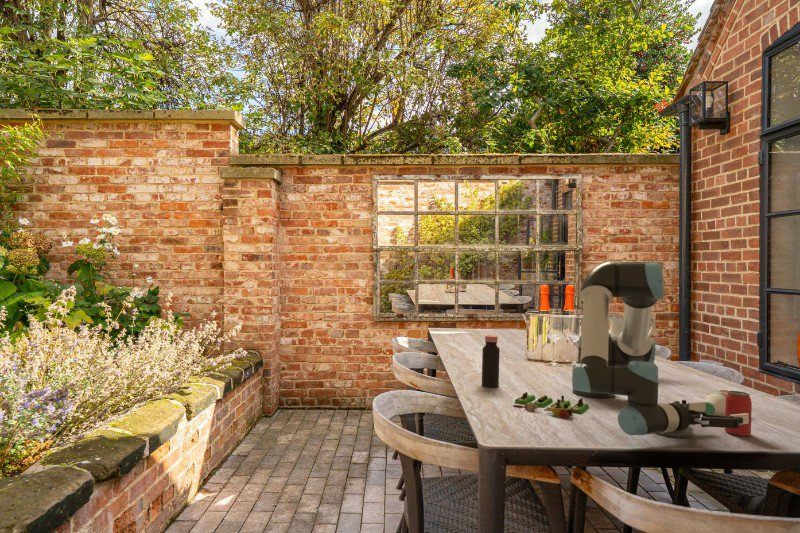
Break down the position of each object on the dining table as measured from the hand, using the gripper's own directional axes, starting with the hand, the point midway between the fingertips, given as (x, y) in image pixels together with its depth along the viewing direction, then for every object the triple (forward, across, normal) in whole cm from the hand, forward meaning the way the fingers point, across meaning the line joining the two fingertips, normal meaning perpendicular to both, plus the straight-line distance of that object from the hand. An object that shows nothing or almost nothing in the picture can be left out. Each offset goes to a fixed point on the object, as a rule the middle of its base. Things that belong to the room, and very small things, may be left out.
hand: (725, 411), depth 156 cm
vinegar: (-34, -76, -7) cm, 83 cm away
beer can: (+6, 0, -7) cm, 9 cm away
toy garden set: (-32, -40, -8) cm, 52 cm away
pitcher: (+43, -83, -7) cm, 94 cm away
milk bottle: (+27, -20, -3) cm, 34 cm away
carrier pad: (-12, -8, -7) cm, 16 cm away
